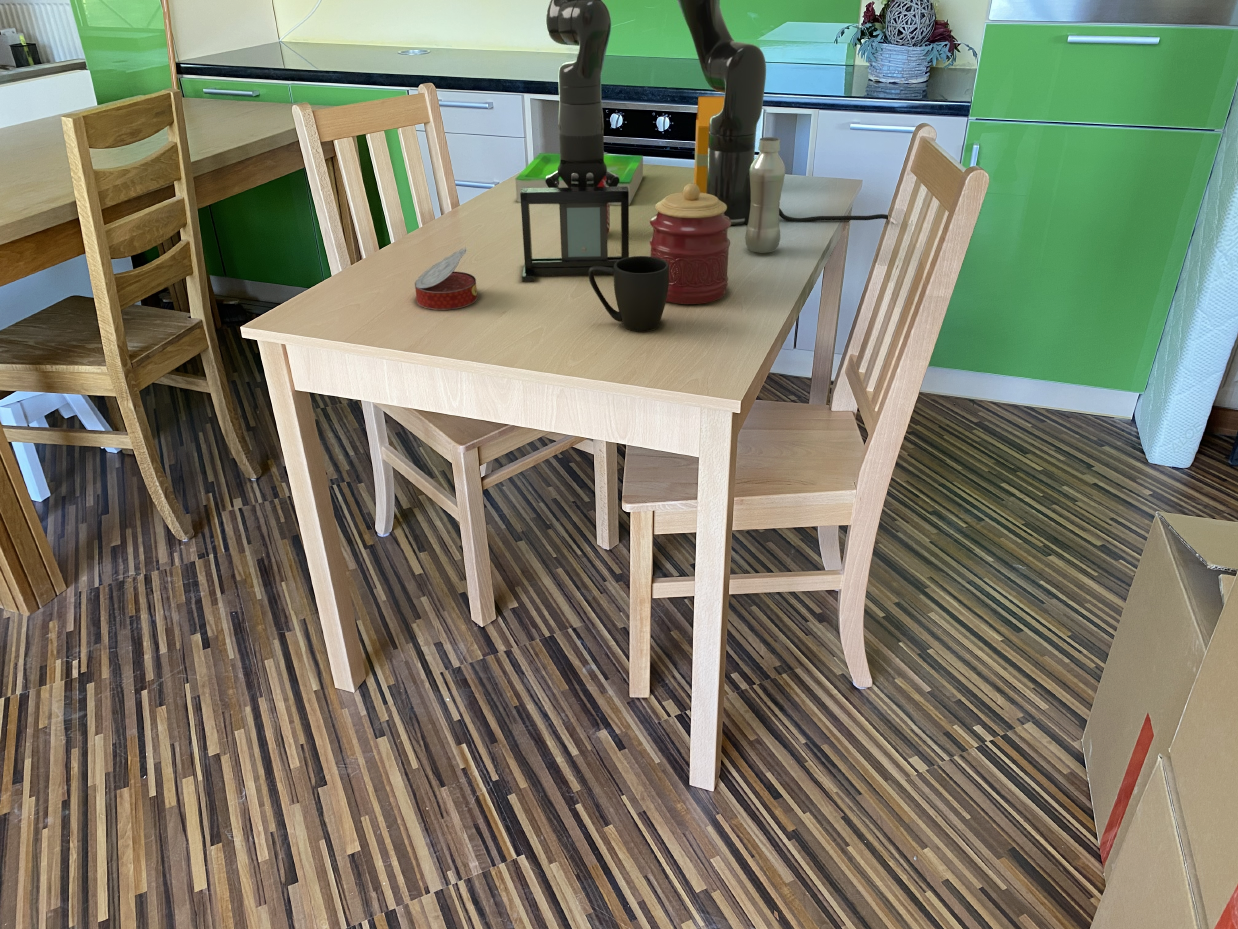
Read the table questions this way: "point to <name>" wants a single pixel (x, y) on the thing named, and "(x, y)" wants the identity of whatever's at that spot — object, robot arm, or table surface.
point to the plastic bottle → (765, 197)
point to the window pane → (583, 231)
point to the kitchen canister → (692, 245)
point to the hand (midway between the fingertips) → (583, 231)
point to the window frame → (570, 195)
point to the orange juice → (704, 136)
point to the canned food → (446, 285)
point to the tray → (547, 165)
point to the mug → (636, 291)
